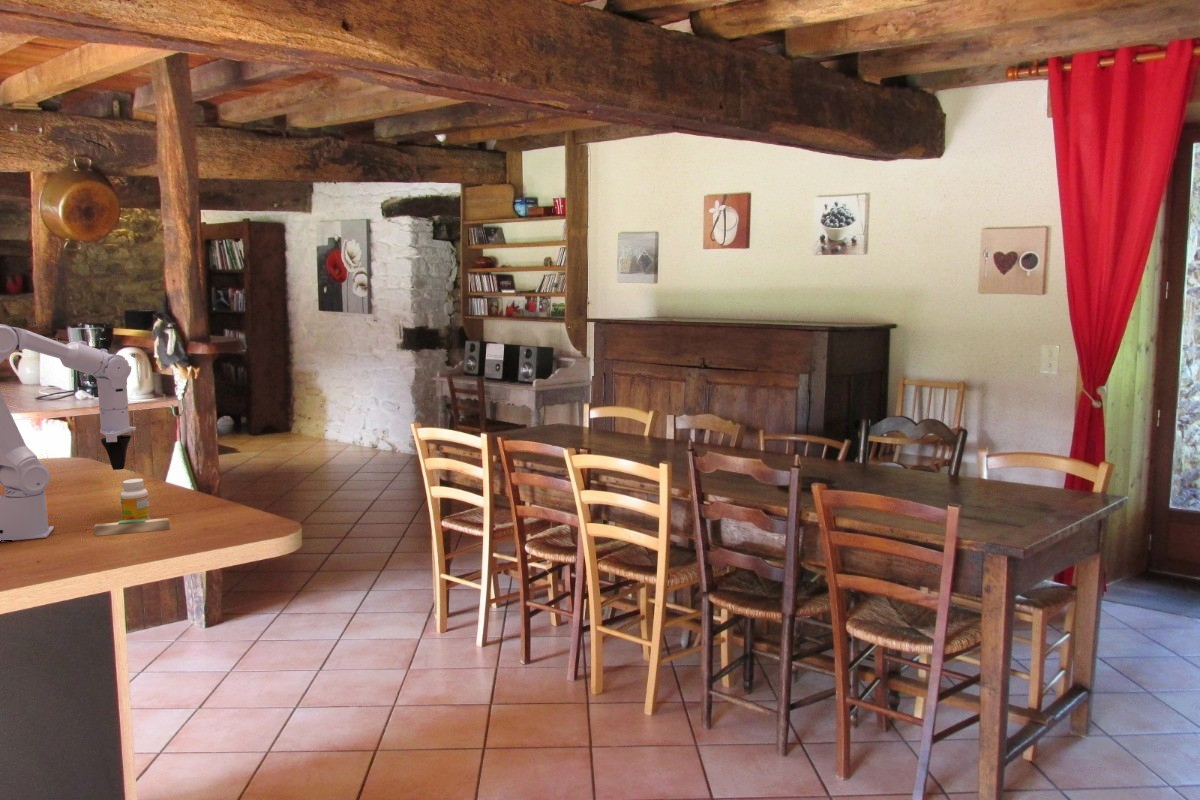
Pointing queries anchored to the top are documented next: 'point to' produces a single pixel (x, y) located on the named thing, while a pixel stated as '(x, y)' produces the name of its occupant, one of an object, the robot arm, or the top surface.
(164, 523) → the stop rail
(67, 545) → the top surface
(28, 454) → the robot arm
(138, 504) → the supplement bottle
